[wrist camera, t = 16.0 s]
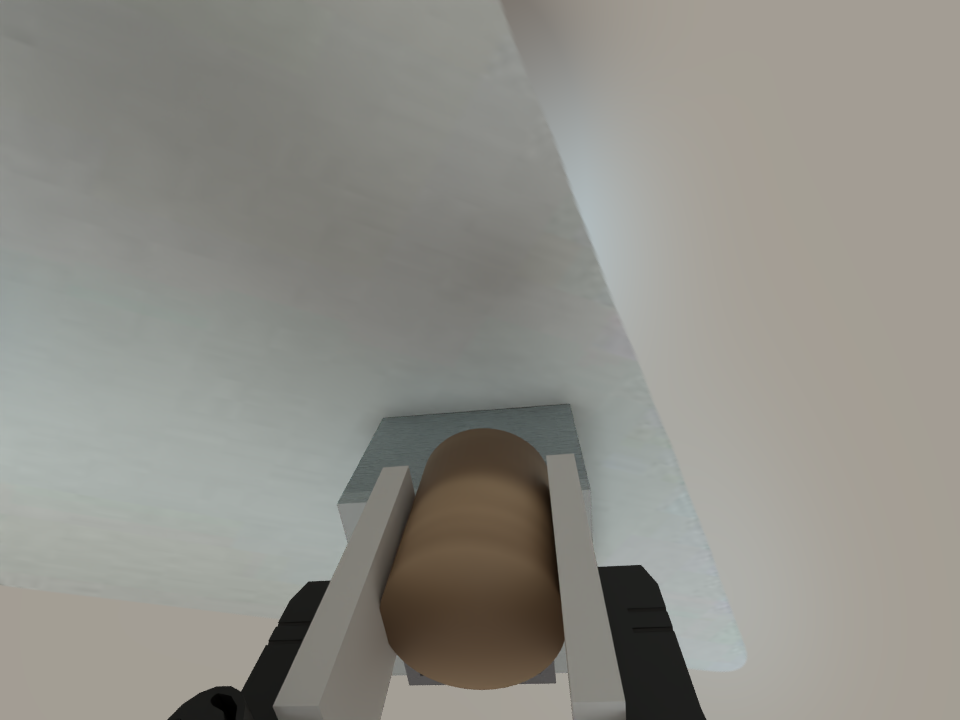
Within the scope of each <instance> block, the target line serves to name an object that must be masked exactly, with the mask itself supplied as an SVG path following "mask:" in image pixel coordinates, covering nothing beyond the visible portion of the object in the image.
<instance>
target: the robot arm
mask: <svg viewBox="0 0 960 720" xmlns="http://www.w3.org/2000/svg"><path fill="white" fill-rule="evenodd" d="M546 460H547V470H548V481H549V491H550V500H551V510H552V519H553V529H554V539H555V548H556V558H557V567H558V577H559V586H560V596H561V606H562V616H563V627H564V637H565V649H566V658H567V668H568V678H569V687H570V697H571V706H572V716H573V720H706V718H705V716H704V714H703V712H702V709H701V707H700V704H699V701H698V698H697V696H696V693H695V690H694V687H693V684H692V681H691V678H690V675H689V672H688V670H687V667H686V664H685V661H684V658H683V655H682V652H681V649H680V647H679V644H678V641H677V638H676V635H675V632H674V631H673V627H672V624H671V621H670V618H669V615H668V612H667V611H666V606H665V603H664V601H663V598H662V595H661V592H660V589H659V586H658V584H657V583H656V581H655V580H654V579H653V578H652V577H651V576H650V575H649V574H648V572H647V571H646V570H645V569H644V568H643V567H642V566H641V565H630V566H608V567H597V562H596V558H595V553H594V548H593V543H592V538H591V534H590V529H589V524H588V519H587V514H586V509H585V505H584V500H583V495H582V490H581V485H580V481H579V476H578V471H577V466H576V461H575V456H574V453H573V454H560V455H546ZM414 499H415V493H414V488H413V483H412V479H411V474H410V469H409V466H396V467H383V469H382V471H381V473H380V475H379V477H378V479H377V482H376V484H375V486H374V488H373V490H372V492H371V495H370V497H369V499H368V501H367V503H366V505H365V508H364V510H363V512H362V514H361V516H360V518H359V521H358V523H357V525H356V527H355V529H354V531H353V534H352V536H351V538H350V540H349V542H348V544H347V547H346V549H345V551H344V553H343V555H342V557H341V560H340V562H339V564H338V566H337V568H336V570H335V573H334V575H333V577H332V579H331V581H312V582H308V583H307V584H306V585H305V586H304V587H303V588H302V589H301V590H300V591H299V592H298V593H297V594H296V595H295V596H294V597H293V598H292V599H291V600H290V601H289V603H288V605H287V607H286V609H285V611H284V613H283V615H282V616H281V618H280V620H279V622H278V623H279V624H278V627H276V628H275V629H274V631H273V633H272V635H271V637H270V639H269V643H268V645H266V646H265V648H264V650H263V652H262V654H261V656H260V657H259V660H258V661H257V663H256V665H255V667H254V669H253V670H252V672H251V674H250V676H249V678H248V680H247V682H246V683H245V685H244V687H243V689H242V691H241V692H240V691H239V690H237V689H235V688H233V687H231V686H222V687H214V688H212V689H209V690H207V691H203V692H201V693H199V694H197V695H196V696H195V697H193V698H191V699H190V700H188V701H187V702H185V703H184V704H183V705H181V707H179V708H178V710H176V712H175V713H174V714H173V715H172V716H171V717H170V718H169V719H168V720H380V719H381V715H382V710H383V707H384V703H385V699H386V694H387V691H388V687H389V683H390V679H391V675H392V671H393V667H394V663H395V659H396V655H397V654H396V653H395V652H394V651H393V649H392V648H391V646H390V645H389V643H388V639H387V635H386V632H385V628H384V624H383V620H382V617H381V613H380V604H381V599H382V596H383V593H384V590H385V587H386V584H387V581H388V578H389V575H390V571H391V568H392V565H393V562H394V559H395V556H396V553H397V550H398V547H399V544H400V541H401V538H402V535H403V532H404V529H405V526H406V523H407V520H408V517H409V514H410V511H411V508H412V505H413V502H414Z"/></svg>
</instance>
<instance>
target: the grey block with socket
mask: <svg viewBox="0 0 960 720" xmlns="http://www.w3.org/2000/svg"><path fill="white" fill-rule="evenodd" d="M477 428H490V429H498V430H502V431H506V432H509V433H512V434H514V435H516V436H518V437H520V438H522V439H523V440H525V441H527V442H528V443H529V444H530V445H532V446H533V447H534V448H535V449H536V450H537V451H538V452H539V454H540V455H541V456H542V458H543V459H544V461H545V463H546V465H547V460H546V455H560V454H573V453H574V456H575V461H576V466H577V471H578V476H579V481H580V485H581V490H582V495H583V500H584V505H585V509H586V514H587V519H588V524H589V529H590V534H591V538H592V543H593V537H592V514H591V491H590V486H589V482H588V478H587V473H586V469H585V465H584V461H583V457H582V453H581V449H580V444H579V440H578V436H577V432H576V428H575V424H574V420H573V415H572V411H571V407H570V404H565V405H552V406H539V407H526V408H512V409H499V410H486V411H473V412H459V413H446V414H433V415H420V416H407V417H393V418H383V420H382V421H381V423H380V425H379V427H378V429H377V431H376V433H375V434H374V436H373V438H372V440H371V442H370V444H369V446H368V447H367V449H366V451H365V453H364V455H363V457H362V459H361V460H360V462H359V464H358V466H357V468H356V470H355V472H354V473H353V475H352V477H351V479H350V481H349V483H348V485H347V486H346V488H345V490H344V492H343V494H342V496H341V498H340V499H339V501H338V503H337V506H338V509H339V513H340V517H341V520H342V524H343V527H344V531H345V535H346V538H347V542H349V540H350V538H351V536H352V534H353V531H354V529H355V527H356V525H357V523H358V521H359V518H360V516H361V514H362V512H363V510H364V508H365V505H366V503H367V501H368V499H369V497H370V495H371V492H372V490H373V488H374V486H375V484H376V482H377V479H378V477H379V475H380V473H381V471H382V469H383V467H396V466H409V469H410V474H411V479H412V483H413V488H414V493H415V496H416V493H417V490H418V487H419V484H420V481H421V478H422V475H423V472H424V469H425V466H426V463H427V461H428V459H429V457H430V455H431V454H432V452H433V451H434V450H435V448H436V447H437V446H438V445H439V444H440V443H442V442H443V441H444V440H446V439H447V438H449V437H451V436H453V435H455V434H457V433H460V432H462V431H466V430H470V429H477ZM555 673H568V668H567V658H566V649H565V641H564V644H563V646H562V649H561V651H560V652H559V654H558V656H557V657H556V658H555V660H554V661H553V662H552V663H551V664H550V665H549V666H548V667H547V668H546V669H545V670H544V671H542V672H541V673H539V674H538V675H536V676H535V677H533V678H531V679H529V680H527V681H525V682H522V683H519V684H541V683H542V684H543V683H544V684H545V683H556V677H555ZM392 675H407V677H408V681H409V685H446V684H443V683H440V682H437V681H435V680H432V679H430V678H428V677H426V676H424V675H422V674H420V673H418V672H417V671H415V670H414V669H413V668H411V667H410V666H408V665H407V664H406V663H405V662H404V661H403V660H401V659H400V657H399V656H398V655H396V659H395V663H394V667H393V671H392Z"/></svg>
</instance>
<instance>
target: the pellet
mask: <svg viewBox="0 0 960 720" xmlns="http://www.w3.org/2000/svg"><path fill="white" fill-rule="evenodd" d="M380 613H381V617H382V620H383V624H384V628H385V632H386V635H387V639H388V643H389V645H390V646H391V648H392V649H393V651H394V652H395V653H396V654H397V655H398V656H399V657H400V659H401V660H403V661H404V662H405V663H406V664H407V665H408V666H410V667H411V668H413V669H414V670H415V671H417V672H418V673H420V674H422V675H424V676H426V677H428V678H430V679H432V680H435V681H437V682H440V683H443V684H446V685H449V686H454V687H459V688H464V689H474V690H489V689H498V688H505V687H509V686H513V685H517V684H519V683H522V682H525V681H527V680H529V679H531V678H533V677H535V676H536V675H538V674H539V673H541V672H542V671H544V670H545V669H546V668H547V667H548V666H549V665H550V664H551V663H552V662H553V661H554V660H555V658H556V657H557V656H558V654H559V652H560V651H561V649H562V646H563V644H564V641H565V637H564V627H563V616H562V606H561V596H560V586H559V577H558V567H557V558H556V548H555V539H554V529H553V519H552V510H551V500H550V491H549V481H548V470H547V465H546V463H545V461H544V459H543V458H542V456H541V455H540V454H539V452H538V451H537V450H536V449H535V448H534V447H533V446H532V445H530V444H529V443H528V442H527V441H525V440H523V439H522V438H520V437H518V436H516V435H514V434H512V433H509V432H506V431H502V430H498V429H490V428H477V429H470V430H466V431H462V432H460V433H457V434H455V435H453V436H451V437H449V438H447V439H446V440H444V441H443V442H442V443H440V444H439V445H438V446H437V447H436V448H435V450H434V451H433V452H432V454H431V455H430V457H429V459H428V461H427V463H426V466H425V469H424V472H423V475H422V478H421V481H420V484H419V487H418V490H417V493H416V496H415V499H414V502H413V505H412V508H411V511H410V514H409V517H408V520H407V523H406V526H405V529H404V532H403V535H402V538H401V541H400V544H399V547H398V550H397V553H396V556H395V559H394V562H393V565H392V568H391V571H390V575H389V578H388V581H387V584H386V587H385V590H384V593H383V596H382V599H381V604H380Z"/></svg>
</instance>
